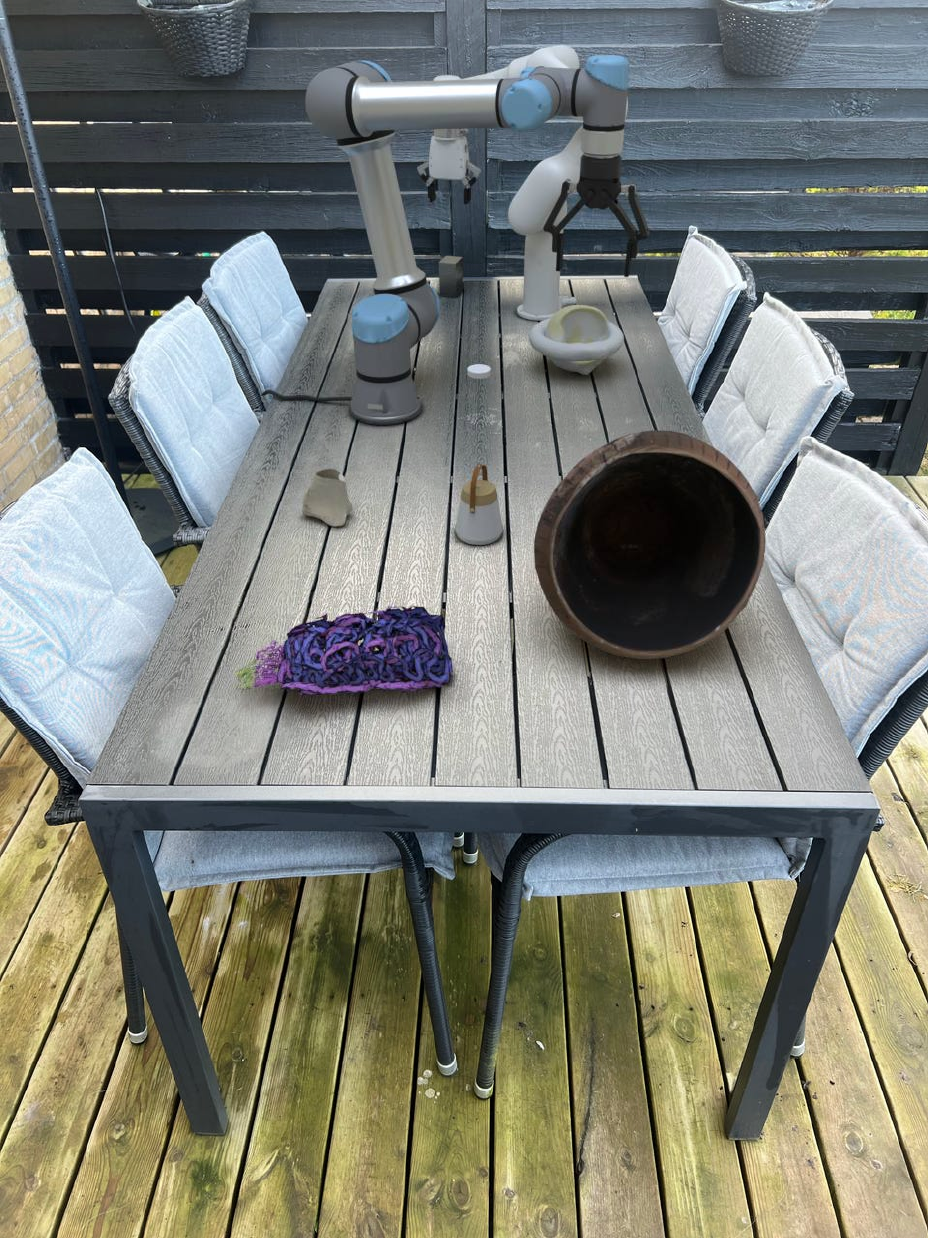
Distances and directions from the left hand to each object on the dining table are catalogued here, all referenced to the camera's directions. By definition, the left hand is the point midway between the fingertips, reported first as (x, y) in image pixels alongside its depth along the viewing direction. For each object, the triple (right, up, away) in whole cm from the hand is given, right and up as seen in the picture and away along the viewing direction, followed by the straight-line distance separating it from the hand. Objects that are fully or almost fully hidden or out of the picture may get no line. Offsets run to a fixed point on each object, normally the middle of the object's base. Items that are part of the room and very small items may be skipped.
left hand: (592, 272), depth 183 cm
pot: (+1, -67, -39) cm, 77 cm away
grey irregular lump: (-50, -50, -17) cm, 73 cm away
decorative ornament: (-42, -78, -52) cm, 103 cm away
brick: (-29, +24, +80) cm, 89 cm away
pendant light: (-23, -54, -21) cm, 62 cm away
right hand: (-29, +43, +66) cm, 84 cm away
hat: (+1, -10, +36) cm, 37 cm away
